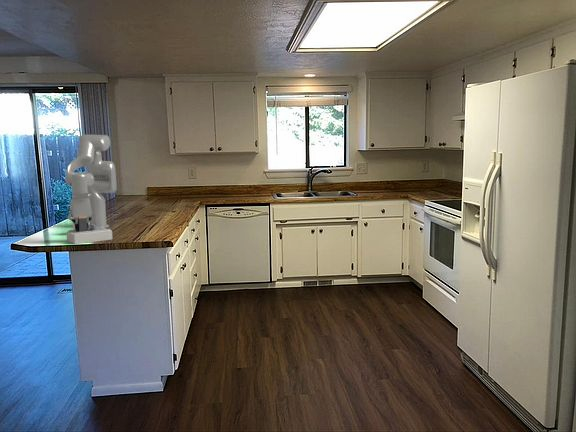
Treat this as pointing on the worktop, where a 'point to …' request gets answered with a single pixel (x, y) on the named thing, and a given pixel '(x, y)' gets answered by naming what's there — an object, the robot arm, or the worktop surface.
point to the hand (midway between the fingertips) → (81, 229)
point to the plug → (82, 223)
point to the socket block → (89, 235)
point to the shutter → (94, 227)
